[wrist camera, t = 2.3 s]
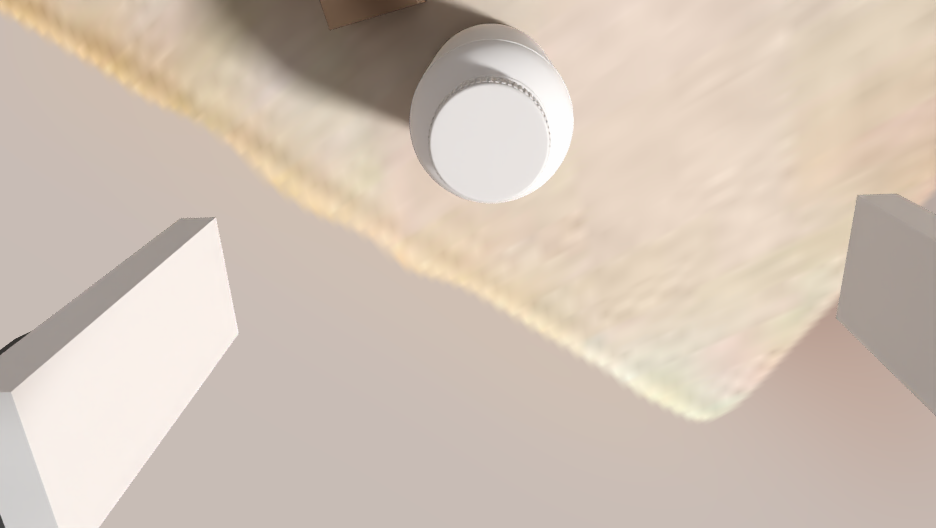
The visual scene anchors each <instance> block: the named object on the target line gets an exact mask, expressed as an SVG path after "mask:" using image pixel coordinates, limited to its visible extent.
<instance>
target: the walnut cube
mask: <svg viewBox="0 0 936 528" xmlns="http://www.w3.org/2000/svg"><path fill="white" fill-rule="evenodd" d="M320 2H321V5H322V8H323V11H324V14H325V17H326V20H327V23H328V26H329V29H330V30H332V29H336V28H339V27H342V26H346V25H349V24H352V23H356V22H359V21H362V20H366V19H369V18H372V17H376V16H379V15H382V14H386V13H389V12H392V11H396V10H399V9H403V8H406V7H409V6H413V5H416V4H419V3H422V2H426V0H320Z"/></svg>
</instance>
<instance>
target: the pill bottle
mask: <svg viewBox="0 0 936 528" xmlns="http://www.w3.org/2000/svg"><path fill="white" fill-rule="evenodd" d="M409 125H410V135H411V140H412V144H413V147H414V150H415V153H416V155H417V157H418V159H419V161H420V163H421V164H422V166H423V168H424V169H425V170H426V172H427V173H428V174H429V175H430V176H431V178H432V179H433V180H434V181H435V182H437V183H438V184H439V185H440V186H441V187H443V188H444V189H446V190H447V191H449V192H450V193H452V194H454V195H456V196H458V197H461V198H463V199H466V200H470V201H474V202H479V203H503V202H508V201H512V200H516V199H518V198H521V197H523V196H526V195H528V194H530V193H531V192H533V191H535V190H536V189H538V188H539V187H541V186H542V185H543V184H544V183H545V182H547V181H548V180H549V179H550V178H551V177H552V175H553V174H554V173H555V172H556V171H557V169H558V168H559V166H560V165H561V163H562V162H563V160H564V158H565V156H566V154H567V151H568V149H569V146H570V142H571V138H572V133H573V108H572V102H571V98H570V95H569V92H568V89H567V87H566V85H565V83H564V81H563V79H562V77H561V75H560V74H559V72H558V71H557V70H556V68H555V67H554V65H553V64H552V62H551V61H550V59H549V58H548V56H547V55H546V54H545V52H544V51H543V49H542V48H541V47H540V46H539V45H538V43H537V42H536V41H535V40H533V39H532V38H531V37H530V36H528V35H527V34H525V33H524V32H522V31H520V30H518V29H516V28H513V27H510V26H507V25H502V24H481V25H476V26H473V27H470V28H467V29H465V30H463V31H461V32H459V33H457V34H456V35H454V36H453V37H452V38H450V39H449V40H448V41H447V42H446V43H445V44H444V45H443V46H442V47H441V49H440V50H439V51H438V53H437V54H436V56H435V57H434V59H433V61H432V62H431V64H430V65H429V67H428V68H427V70H426V72H425V73H424V75H423V76H422V78H421V80H420V82H419V83H418V86H417V88H416V90H415V93H414V96H413V99H412V103H411V108H410V119H409Z"/></svg>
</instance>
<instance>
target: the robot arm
mask: <svg viewBox="0 0 936 528" xmlns="http://www.w3.org/2000/svg"><path fill="white" fill-rule="evenodd" d="M836 319H837V320H839V321H840V322H841V323H842V324H843V325H844V326H845V327H846V328H847V329H848V330H849V331H850V332H851V333H852V334H853V335H854V336H855V337H856V338H857V339H858V340H859V341H860V342H861V343H862V344H863V345H864V346H865V347H866V348H867V349H868V350H869V351H870V352H871V353H872V354H873V355H874V356H875V357H876V358H877V359H878V360H879V361H880V362H881V363H882V364H883V365H884V366H885V367H886V368H887V369H888V370H890V372H891V373H892V374H894V376H896V377H897V378H898V379H899V380H900V381H901V382H902V383H903V384H904V385H905V386H906V387H907V388H908V389H909V390H910V391H911V392H912V393H913V394H914V395H915V396H916V397H917V398H918V399H919V400H920V401H921V402H922V403H923V404H924V405H925V406H926V407H927V408H928V409H929V410H930V411H931V412H932V413H933V414H934V415H935V416H936V214H934V213H932V212H930V211H929V210H927V209H925V208H923V207H921V206H919V205H917V204H915V203H913V202H911V201H910V200H908V199H906V198H904V197H902V196H900V195H898V194H873V195H857V200H856V206H855V212H854V217H853V223H852V229H851V235H850V240H849V246H848V252H847V257H846V263H845V269H844V275H843V280H842V286H841V292H840V298H839V303H838V309H837V315H836ZM238 334H239V333H238V328H237V324H236V318H235V312H234V308H233V302H232V297H231V292H230V287H229V282H228V277H227V271H226V266H225V261H224V256H223V251H222V246H221V241H220V236H219V231H218V226H217V220H216V218H215V217H212V218H181V219H179V220H178V221H177V222H175V223H174V224H172V225H171V226H170V227H169V228H167V229H166V230H164V231H163V232H162V233H161V234H159V235H158V236H157V237H155V238H154V239H153V240H151V241H150V242H149V243H147V244H146V245H145V246H143V247H142V248H141V249H139V250H138V251H137V252H135V253H134V254H133V255H132V256H130V257H129V258H128V259H126V260H125V261H124V262H122V263H121V264H120V265H118V266H117V267H116V268H115V269H113V270H112V271H110V272H109V273H108V274H106V275H105V276H104V277H103V278H102V279H100V280H99V281H97V282H96V283H95V284H93V285H92V286H91V287H89V288H88V289H87V290H85V291H84V292H83V293H82V294H80V295H79V296H78V297H76V298H75V299H74V300H72V301H71V302H70V303H68V304H67V305H66V306H64V307H63V308H62V309H60V310H59V311H58V312H56V313H55V314H54V315H52V316H51V317H50V318H49V319H47V320H46V321H45V322H43V323H42V324H41V325H39V326H38V327H37V328H35V329H34V330H33V331H31V332H29V333H27V334H25V335H22V336H20V337H18V338H16V339H14V340H13V341H12V342H10V343H9V344H8V345H6V346H5V347H4V348H2V349H1V350H0V528H99V527H100V525H101V524H102V522H103V521H104V520H105V518H106V517H107V515H108V514H109V513H110V511H111V510H112V509H113V507H114V506H115V504H116V503H117V502H118V500H119V499H120V497H121V496H122V495H123V493H124V492H125V490H126V489H127V488H128V486H129V485H130V483H131V482H132V481H133V479H134V478H135V477H136V475H137V474H138V472H139V471H140V470H141V468H142V467H143V465H144V464H145V463H146V461H147V460H148V459H149V457H150V456H151V454H152V453H153V452H154V450H155V449H156V448H157V446H158V445H159V443H160V442H161V441H162V439H163V438H164V436H165V435H166V434H167V432H168V431H169V430H170V428H171V427H172V425H173V424H174V423H175V421H176V420H177V418H178V417H179V416H180V414H181V413H182V411H183V410H184V409H185V407H186V406H187V404H188V403H189V402H190V400H191V399H192V398H193V396H194V395H195V393H196V392H197V391H198V389H199V388H200V386H201V385H202V384H203V382H204V381H205V380H206V378H207V377H208V375H209V374H210V373H211V371H212V370H213V369H214V367H215V366H216V364H217V363H218V362H219V360H220V359H221V357H222V356H223V354H224V353H225V352H226V350H227V349H228V348H229V346H230V345H231V344H232V342H233V341H234V339H235V338H236V337H237V335H238Z"/></svg>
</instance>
